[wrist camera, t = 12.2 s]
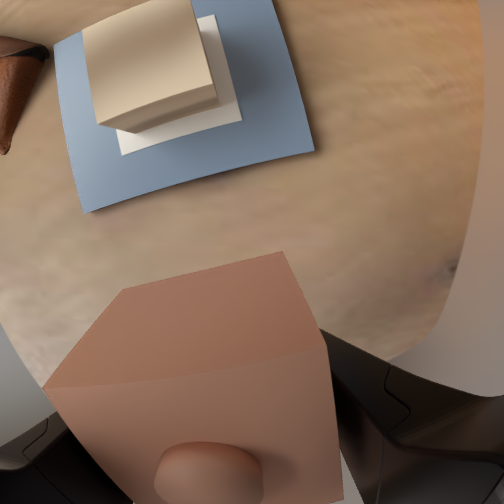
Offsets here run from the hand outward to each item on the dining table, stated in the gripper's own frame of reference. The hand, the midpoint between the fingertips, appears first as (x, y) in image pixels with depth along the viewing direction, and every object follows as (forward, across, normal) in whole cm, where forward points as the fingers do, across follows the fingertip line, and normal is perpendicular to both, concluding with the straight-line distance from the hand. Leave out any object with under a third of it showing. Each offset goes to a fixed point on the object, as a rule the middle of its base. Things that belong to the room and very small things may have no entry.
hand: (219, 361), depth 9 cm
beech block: (+10, +1, -11) cm, 15 cm away
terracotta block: (+1, 0, 0) cm, 1 cm away
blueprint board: (+10, +1, -11) cm, 15 cm away
